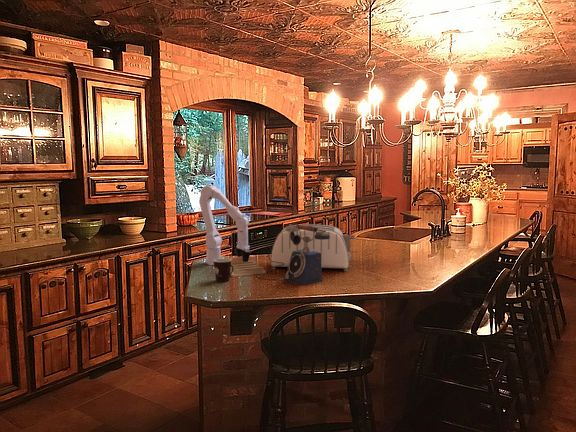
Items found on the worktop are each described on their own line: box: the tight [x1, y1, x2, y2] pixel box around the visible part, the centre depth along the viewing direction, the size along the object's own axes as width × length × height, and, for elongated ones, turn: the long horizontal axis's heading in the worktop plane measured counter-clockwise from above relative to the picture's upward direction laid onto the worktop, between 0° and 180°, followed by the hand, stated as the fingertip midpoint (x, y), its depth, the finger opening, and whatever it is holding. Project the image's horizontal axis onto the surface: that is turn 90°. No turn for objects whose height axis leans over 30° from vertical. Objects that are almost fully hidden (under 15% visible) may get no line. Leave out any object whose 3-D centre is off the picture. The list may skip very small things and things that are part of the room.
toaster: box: [270, 224, 356, 272], centre depth 261 cm, size 21×45×22 cm, turn 83°
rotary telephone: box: [255, 224, 330, 286], centre depth 232 cm, size 41×22×27 cm, turn 38°
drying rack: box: [230, 261, 267, 278], centre depth 250 cm, size 17×18×3 cm
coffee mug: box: [213, 257, 234, 283], centre depth 229 cm, size 12×9×10 cm
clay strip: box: [229, 255, 257, 264], centre depth 264 cm, size 2×14×5 cm, turn 116°
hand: (243, 262), depth 264 cm, fingers open, 7 cm apart
